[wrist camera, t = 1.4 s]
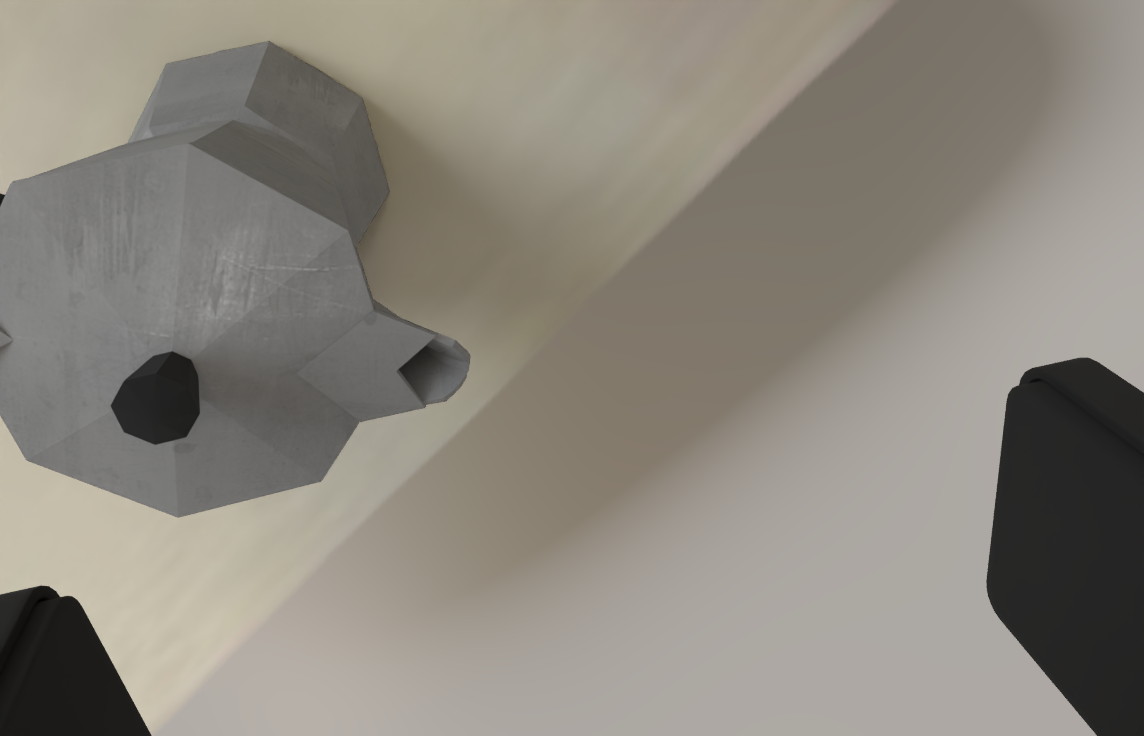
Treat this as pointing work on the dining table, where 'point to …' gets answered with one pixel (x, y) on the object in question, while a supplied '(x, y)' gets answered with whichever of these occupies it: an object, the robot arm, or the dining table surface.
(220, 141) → the coffeepot
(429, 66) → the dining table surface
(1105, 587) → the robot arm
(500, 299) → the dining table surface
